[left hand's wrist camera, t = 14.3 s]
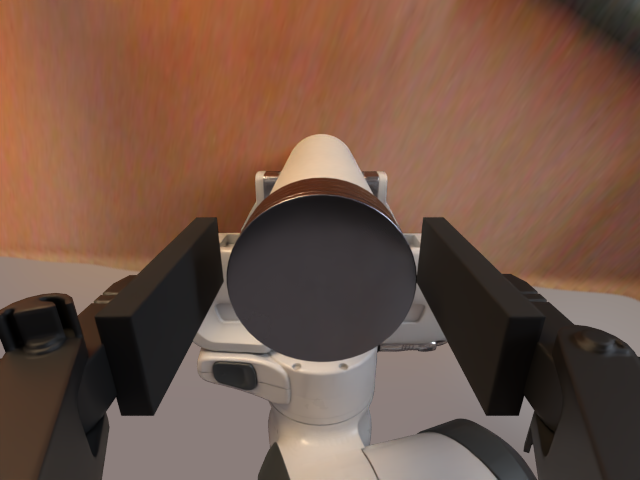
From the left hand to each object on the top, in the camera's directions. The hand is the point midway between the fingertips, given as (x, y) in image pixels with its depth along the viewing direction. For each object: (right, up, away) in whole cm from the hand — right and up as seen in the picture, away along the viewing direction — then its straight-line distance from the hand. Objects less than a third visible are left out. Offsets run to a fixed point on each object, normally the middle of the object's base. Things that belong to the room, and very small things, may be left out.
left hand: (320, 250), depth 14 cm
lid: (0, -1, -3) cm, 3 cm away
